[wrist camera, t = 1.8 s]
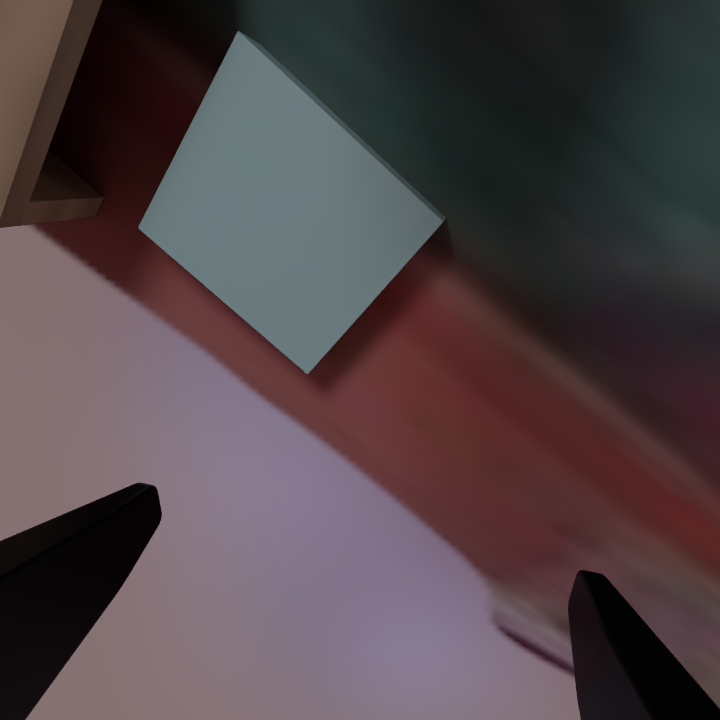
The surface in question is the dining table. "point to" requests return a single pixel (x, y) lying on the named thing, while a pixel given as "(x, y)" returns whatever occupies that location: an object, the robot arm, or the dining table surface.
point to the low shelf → (40, 109)
